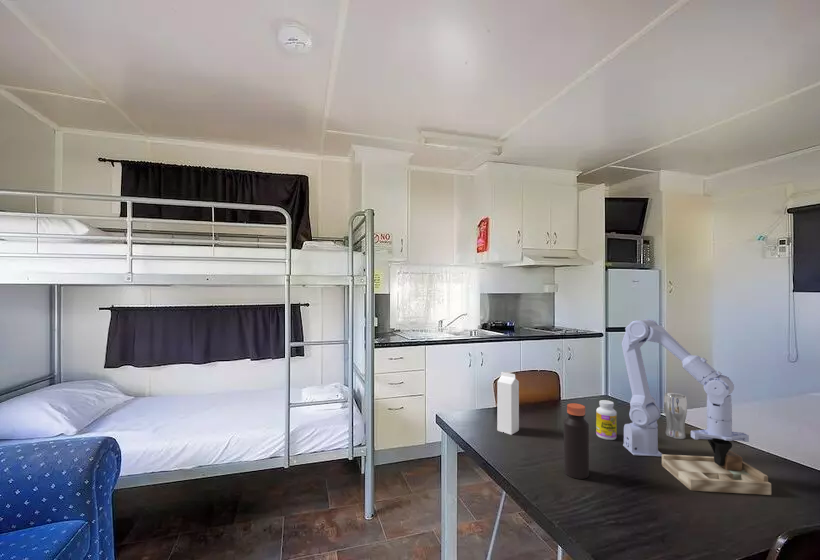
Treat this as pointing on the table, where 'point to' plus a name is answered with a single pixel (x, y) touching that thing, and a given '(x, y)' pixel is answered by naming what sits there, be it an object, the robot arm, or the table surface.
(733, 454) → the walnut block
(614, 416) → the supplement bottle
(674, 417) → the beer glass
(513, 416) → the milk
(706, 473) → the tray
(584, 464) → the vinegar
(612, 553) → the table surface
